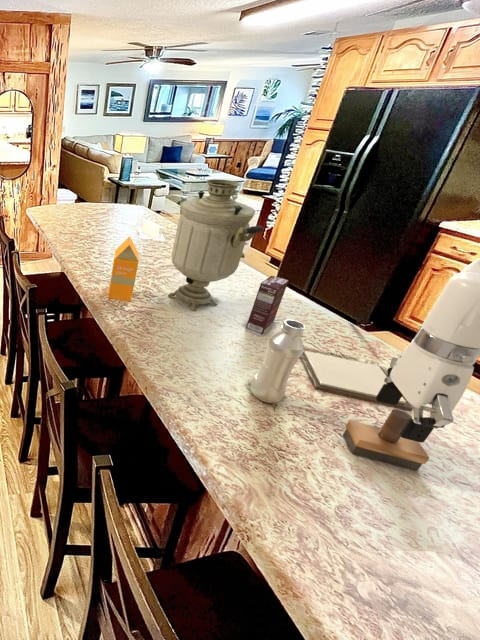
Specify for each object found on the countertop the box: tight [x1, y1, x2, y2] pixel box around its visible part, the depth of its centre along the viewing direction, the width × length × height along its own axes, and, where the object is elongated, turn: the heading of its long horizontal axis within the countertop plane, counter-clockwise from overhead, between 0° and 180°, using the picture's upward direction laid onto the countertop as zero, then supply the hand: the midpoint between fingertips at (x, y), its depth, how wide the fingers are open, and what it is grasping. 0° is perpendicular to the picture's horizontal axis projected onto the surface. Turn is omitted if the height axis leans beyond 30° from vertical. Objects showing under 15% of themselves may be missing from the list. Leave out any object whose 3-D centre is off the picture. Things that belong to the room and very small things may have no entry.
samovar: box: [167, 178, 265, 312], centre depth 122 cm, size 30×26×40 cm
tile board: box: [299, 350, 414, 412], centre depth 96 cm, size 18×16×1 cm
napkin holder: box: [137, 220, 166, 241], centre depth 191 cm, size 15×11×6 cm
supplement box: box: [244, 275, 289, 337], centre depth 112 cm, size 9×5×16 cm, turn 130°
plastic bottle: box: [250, 319, 306, 404], centre depth 85 cm, size 6×7×20 cm
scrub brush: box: [342, 408, 431, 472], centre depth 74 cm, size 10×5×10 cm, turn 68°
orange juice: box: [107, 235, 140, 302], centre depth 130 cm, size 8×9×20 cm
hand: (397, 419), depth 72 cm, fingers open, 9 cm apart
